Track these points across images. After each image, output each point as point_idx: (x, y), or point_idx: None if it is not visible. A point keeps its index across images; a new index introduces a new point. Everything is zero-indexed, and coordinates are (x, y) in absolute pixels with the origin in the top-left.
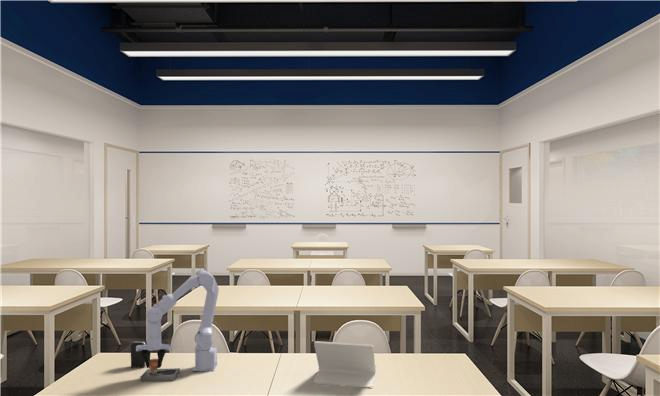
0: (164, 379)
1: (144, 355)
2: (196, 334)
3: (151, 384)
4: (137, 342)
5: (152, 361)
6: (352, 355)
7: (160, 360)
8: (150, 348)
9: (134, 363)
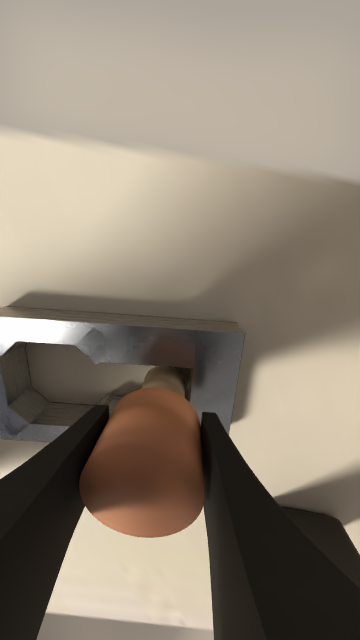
0: (66, 312)
1: (307, 600)
2: None
3: (143, 264)
4: None
5: (152, 465)
6: None
7: (26, 461)
8: None
9: (331, 539)
